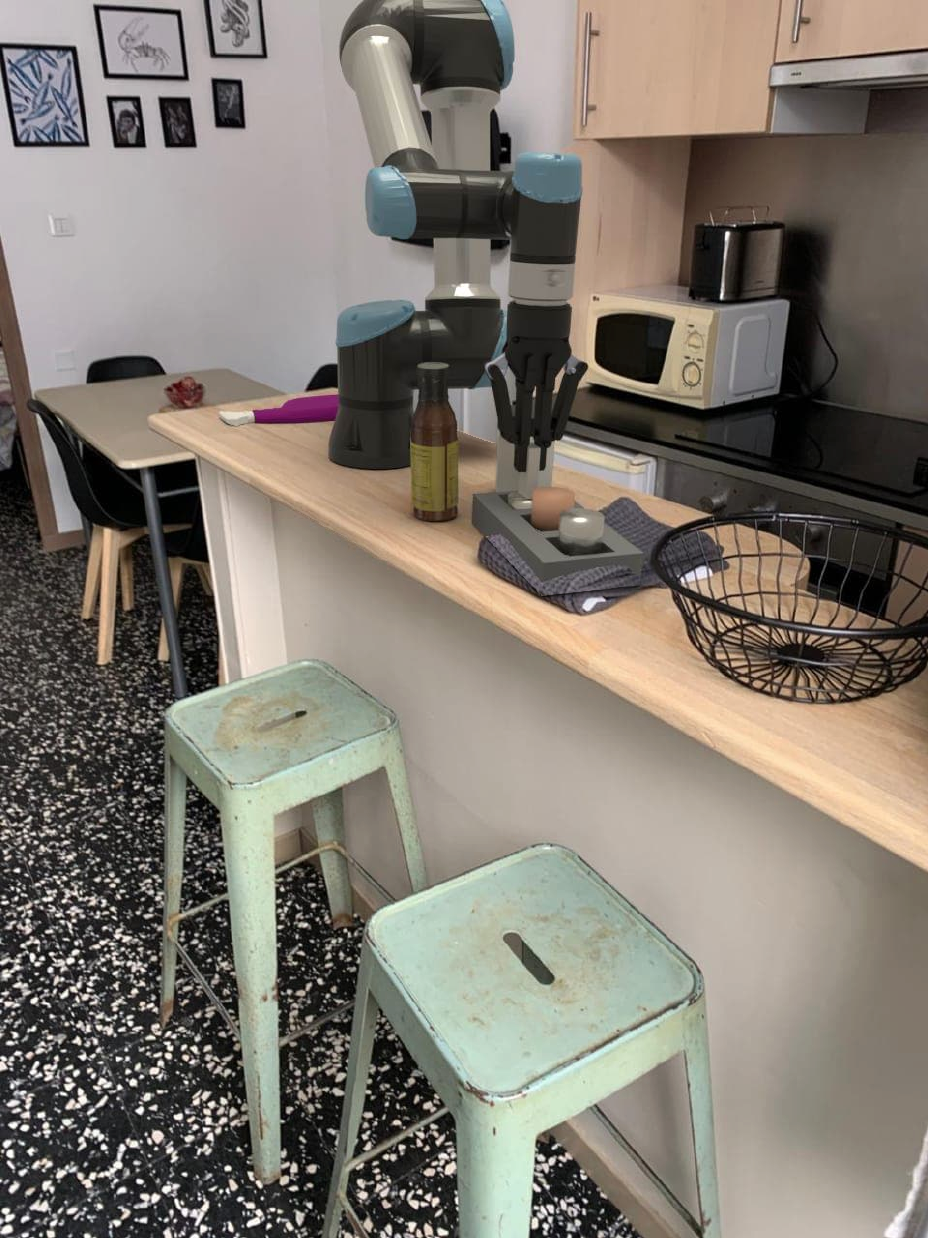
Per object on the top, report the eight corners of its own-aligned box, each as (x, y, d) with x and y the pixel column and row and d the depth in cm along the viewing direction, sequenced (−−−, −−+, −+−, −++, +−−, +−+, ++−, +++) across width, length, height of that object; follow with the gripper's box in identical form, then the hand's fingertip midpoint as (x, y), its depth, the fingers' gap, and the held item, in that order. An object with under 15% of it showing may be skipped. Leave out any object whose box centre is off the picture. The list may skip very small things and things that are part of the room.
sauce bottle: (445, 505, 129) (449, 358, 120) (466, 519, 124) (471, 367, 115) (401, 511, 126) (402, 360, 117) (421, 526, 121) (423, 370, 112)
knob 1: (500, 521, 122) (502, 492, 120) (536, 518, 123) (538, 489, 122) (514, 534, 118) (516, 504, 116) (551, 531, 119) (553, 501, 117)
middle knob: (524, 519, 114) (526, 488, 112) (562, 516, 115) (564, 485, 114) (540, 533, 110) (542, 501, 108) (579, 530, 111) (582, 498, 109)
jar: (553, 505, 130) (559, 419, 125) (494, 503, 130) (498, 417, 125) (548, 485, 138) (554, 404, 133) (493, 483, 138) (497, 402, 133)
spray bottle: (365, 420, 172) (233, 434, 161) (343, 407, 180) (216, 420, 170) (364, 404, 170) (231, 417, 160) (342, 391, 179) (215, 403, 169)
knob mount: (471, 523, 122) (472, 493, 121) (556, 516, 126) (558, 487, 124) (541, 596, 102) (543, 562, 100) (639, 586, 105) (643, 553, 104)
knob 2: (550, 543, 107) (552, 509, 105) (589, 539, 108) (592, 506, 107) (567, 559, 103) (570, 524, 101) (608, 555, 104) (612, 521, 102)
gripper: (498, 305, 103) (489, 508, 114) (605, 304, 107) (587, 501, 117) (476, 297, 110) (469, 490, 120) (578, 296, 114) (563, 483, 124)
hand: (527, 495), depth 119 cm, fingers closed
